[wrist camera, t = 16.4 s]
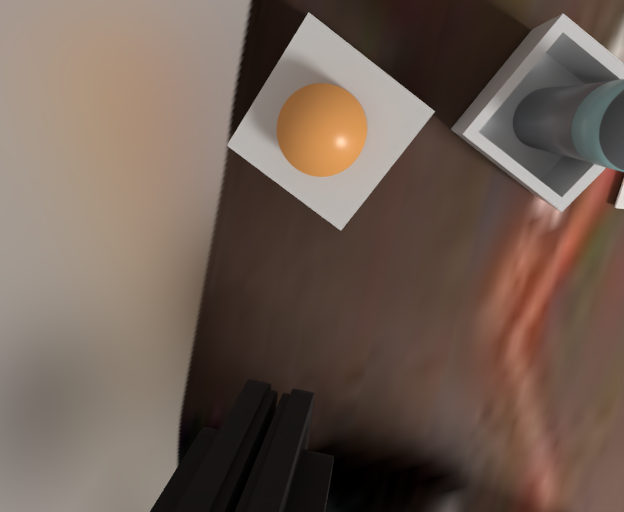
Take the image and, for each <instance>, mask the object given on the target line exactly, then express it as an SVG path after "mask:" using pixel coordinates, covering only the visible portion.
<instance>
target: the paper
mask: <svg viewBox="0 0 624 512" xmlns="http://www.w3.org/2000/svg"><path fill="white" fill-rule="evenodd" d="M614 207H615V208H620V209H624V179H623V182H622V185H621V188H620V191H619V194H618V197H617V200H616V203H615V206H614Z"/></svg>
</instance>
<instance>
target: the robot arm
mask: <svg viewBox="0 0 624 512" xmlns="http://www.w3.org/2000/svg"><path fill="white" fill-rule="evenodd" d="M313 402H314V393H312V392H307V391H302V390H298V389H292V391H291V394H287V393H283V394H282V397H281V399H280V401H279V404H278V406H277V409H276V404H277V391H273V390H271V385H270V384H269V383H264V382H259V381H255V380H250V379H249V380H248V381H247V383H246V384H245V386H244V388H243V390H242V391H241V393H240V395H239V397H238V399H237V400H236V402H235V404H234V406H233V408H232V409H231V411H230V413H229V415H228V417H227V418H226V420H225V422H224V424H223V425H222V427H221V429H220V430H218V429H214V428H209V427H204V428H202V429H201V431H200V432H199V434H198V435H197V437H196V438H195V440H194V442H193V443H192V445H191V446H190V448H189V450H188V451H187V453H186V455H185V456H184V458H183V459H182V461H181V463H180V464H179V466H178V467H177V469H176V471H175V472H174V474H173V476H172V477H171V479H170V480H169V482H168V484H167V485H166V487H165V488H164V491H163V492H162V493H161V495H160V497H159V498H158V500H157V501H156V503H155V505H154V506H153V508H152V509H151V511H150V512H325V509H326V503H327V497H328V491H329V485H330V479H331V473H332V467H333V461H334V456H333V455H328V454H324V453H319V452H315V451H310V450H307V446H308V439H309V431H310V424H311V417H312V410H313Z"/></svg>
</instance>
